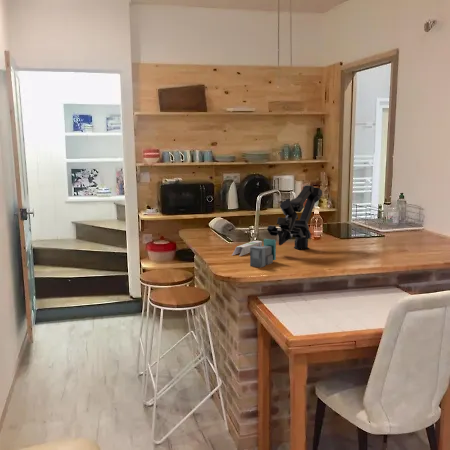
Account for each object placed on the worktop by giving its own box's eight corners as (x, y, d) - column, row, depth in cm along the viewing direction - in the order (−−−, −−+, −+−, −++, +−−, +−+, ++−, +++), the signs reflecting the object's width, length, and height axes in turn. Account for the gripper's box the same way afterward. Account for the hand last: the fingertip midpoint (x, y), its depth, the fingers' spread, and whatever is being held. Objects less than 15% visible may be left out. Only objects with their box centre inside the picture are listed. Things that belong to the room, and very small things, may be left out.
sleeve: (262, 261, 249) (262, 245, 247) (273, 262, 245) (273, 246, 244) (256, 263, 244) (256, 247, 242) (267, 265, 240) (267, 248, 239)
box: (262, 248, 281) (236, 258, 258) (255, 248, 283) (229, 257, 260) (262, 241, 280) (236, 249, 257) (255, 240, 283) (229, 248, 259)
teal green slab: (265, 258, 250) (265, 238, 249) (275, 259, 247) (275, 239, 246) (251, 263, 240) (251, 242, 238) (262, 264, 236) (262, 244, 235)
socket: (254, 264, 242) (254, 246, 241) (265, 265, 239) (265, 247, 237) (250, 265, 239) (250, 247, 237) (261, 267, 235) (261, 248, 234)
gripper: (268, 210, 263) (258, 234, 256) (301, 212, 253) (291, 237, 246) (275, 223, 271) (265, 246, 264) (307, 225, 261) (298, 250, 253)
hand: (279, 245), depth 256 cm, fingers closed
